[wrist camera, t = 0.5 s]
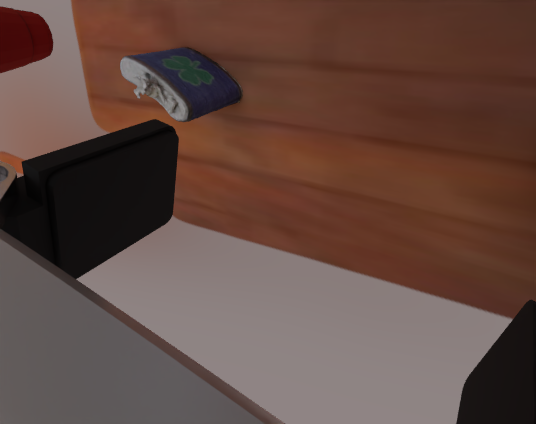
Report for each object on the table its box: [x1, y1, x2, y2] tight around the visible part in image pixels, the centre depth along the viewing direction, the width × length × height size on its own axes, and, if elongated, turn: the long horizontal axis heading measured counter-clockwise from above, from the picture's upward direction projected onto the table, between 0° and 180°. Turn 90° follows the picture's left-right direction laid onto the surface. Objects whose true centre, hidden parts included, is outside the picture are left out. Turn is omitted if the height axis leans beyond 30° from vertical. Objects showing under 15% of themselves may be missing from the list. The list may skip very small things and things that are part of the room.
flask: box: [120, 48, 243, 122], centre depth 41 cm, size 9×3×11 cm, turn 62°
